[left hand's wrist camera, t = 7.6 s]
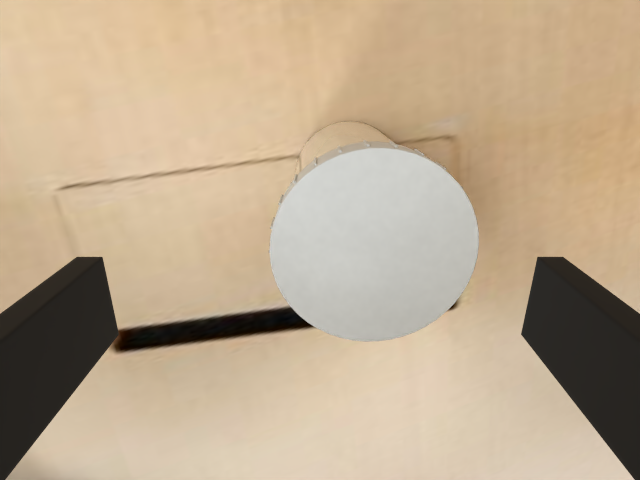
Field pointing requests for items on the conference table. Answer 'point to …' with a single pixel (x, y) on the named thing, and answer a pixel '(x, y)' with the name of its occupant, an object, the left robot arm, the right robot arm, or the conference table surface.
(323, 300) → the lid
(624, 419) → the left robot arm
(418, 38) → the conference table surface
